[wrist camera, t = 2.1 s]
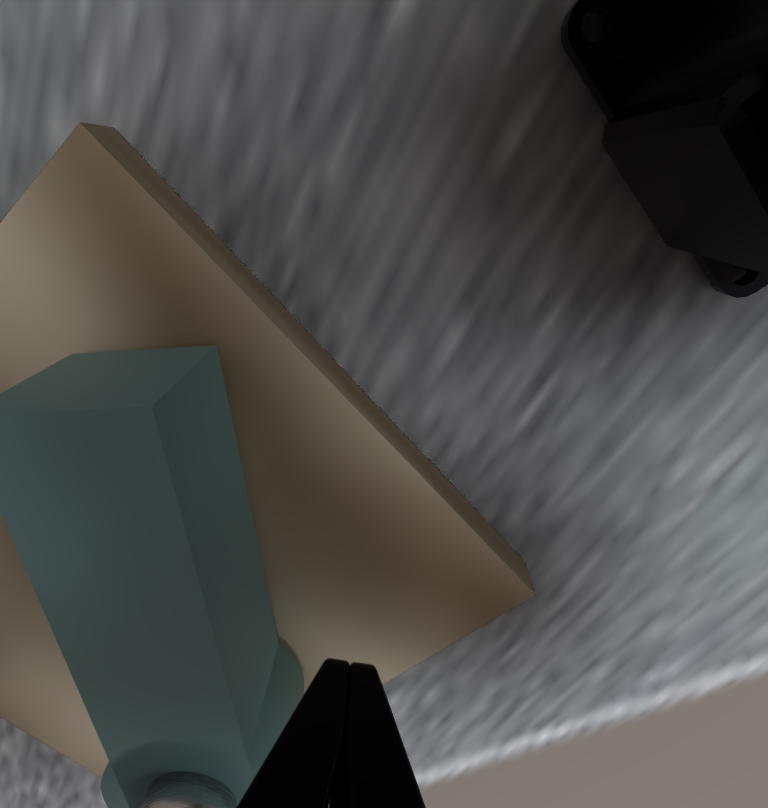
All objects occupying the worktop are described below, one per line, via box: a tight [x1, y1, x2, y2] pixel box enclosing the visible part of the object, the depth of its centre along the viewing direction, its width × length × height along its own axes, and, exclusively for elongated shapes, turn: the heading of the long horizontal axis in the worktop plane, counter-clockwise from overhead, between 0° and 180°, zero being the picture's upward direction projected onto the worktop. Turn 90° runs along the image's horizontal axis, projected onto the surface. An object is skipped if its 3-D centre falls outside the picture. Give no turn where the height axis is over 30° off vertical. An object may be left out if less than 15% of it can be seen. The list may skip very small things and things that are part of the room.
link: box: [0, 345, 304, 808], centre depth 11 cm, size 12×4×4 cm, turn 4°
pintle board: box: [0, 122, 536, 778], centre depth 12 cm, size 15×14×6 cm
